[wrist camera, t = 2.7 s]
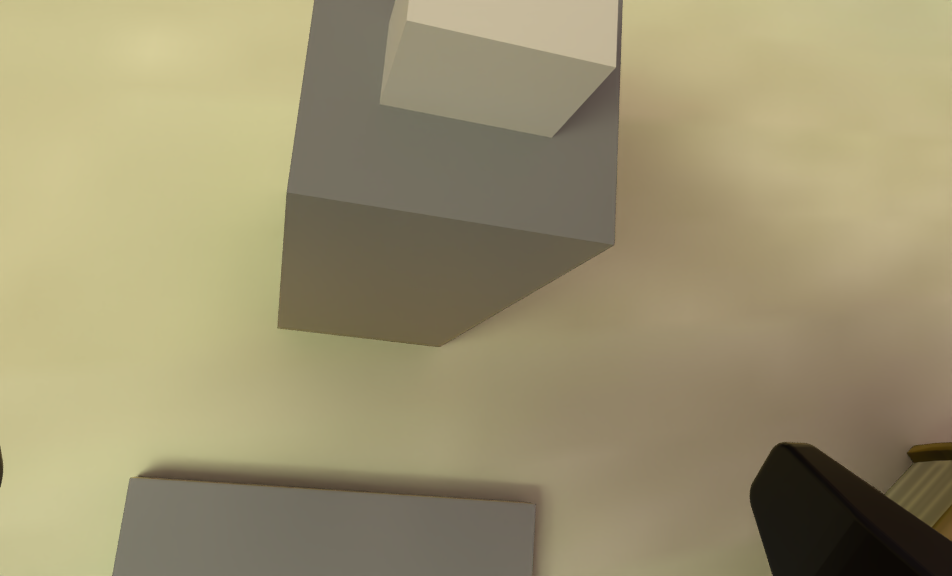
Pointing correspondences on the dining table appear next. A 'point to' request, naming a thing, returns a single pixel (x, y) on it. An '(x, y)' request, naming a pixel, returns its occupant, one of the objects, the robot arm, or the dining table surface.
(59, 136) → the dining table surface
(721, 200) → the dining table surface
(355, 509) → the plate
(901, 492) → the hardcover book
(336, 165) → the grey tall piece
